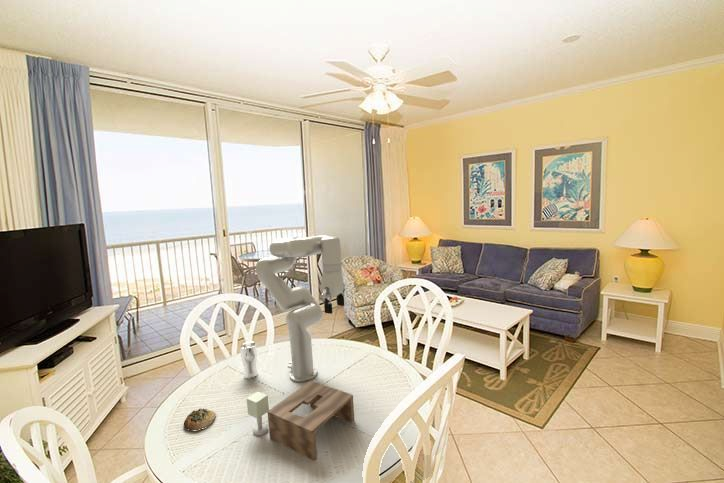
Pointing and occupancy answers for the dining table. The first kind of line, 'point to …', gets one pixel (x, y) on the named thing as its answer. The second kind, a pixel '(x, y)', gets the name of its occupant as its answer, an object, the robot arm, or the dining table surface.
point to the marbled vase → (249, 359)
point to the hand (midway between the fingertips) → (334, 309)
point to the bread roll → (199, 419)
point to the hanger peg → (258, 411)
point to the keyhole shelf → (308, 416)
